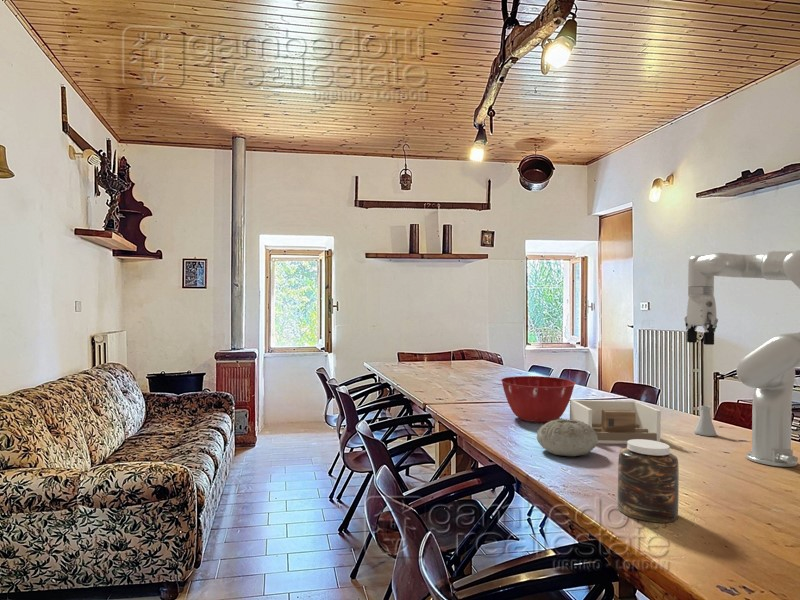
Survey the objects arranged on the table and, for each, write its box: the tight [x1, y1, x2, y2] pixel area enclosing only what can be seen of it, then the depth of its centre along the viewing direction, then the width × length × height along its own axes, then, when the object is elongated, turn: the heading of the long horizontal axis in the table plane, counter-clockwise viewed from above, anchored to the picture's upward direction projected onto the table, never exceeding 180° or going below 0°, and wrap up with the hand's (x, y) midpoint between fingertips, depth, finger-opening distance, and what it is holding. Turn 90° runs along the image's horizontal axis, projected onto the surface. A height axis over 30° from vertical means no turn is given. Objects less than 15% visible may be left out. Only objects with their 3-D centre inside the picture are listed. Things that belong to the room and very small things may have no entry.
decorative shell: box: [536, 418, 599, 457], centre depth 164 cm, size 18×18×10 cm
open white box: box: [569, 399, 662, 445], centre depth 185 cm, size 18×24×11 cm
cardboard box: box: [601, 410, 636, 432], centre depth 180 cm, size 4×10×9 cm, turn 91°
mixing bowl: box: [500, 375, 576, 424], centre depth 212 cm, size 28×28×16 cm
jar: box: [617, 439, 680, 524], centre depth 117 cm, size 12×12×15 cm
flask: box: [693, 405, 718, 437], centre depth 192 cm, size 7×7×10 cm
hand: (700, 343), depth 179 cm, fingers open, 9 cm apart
